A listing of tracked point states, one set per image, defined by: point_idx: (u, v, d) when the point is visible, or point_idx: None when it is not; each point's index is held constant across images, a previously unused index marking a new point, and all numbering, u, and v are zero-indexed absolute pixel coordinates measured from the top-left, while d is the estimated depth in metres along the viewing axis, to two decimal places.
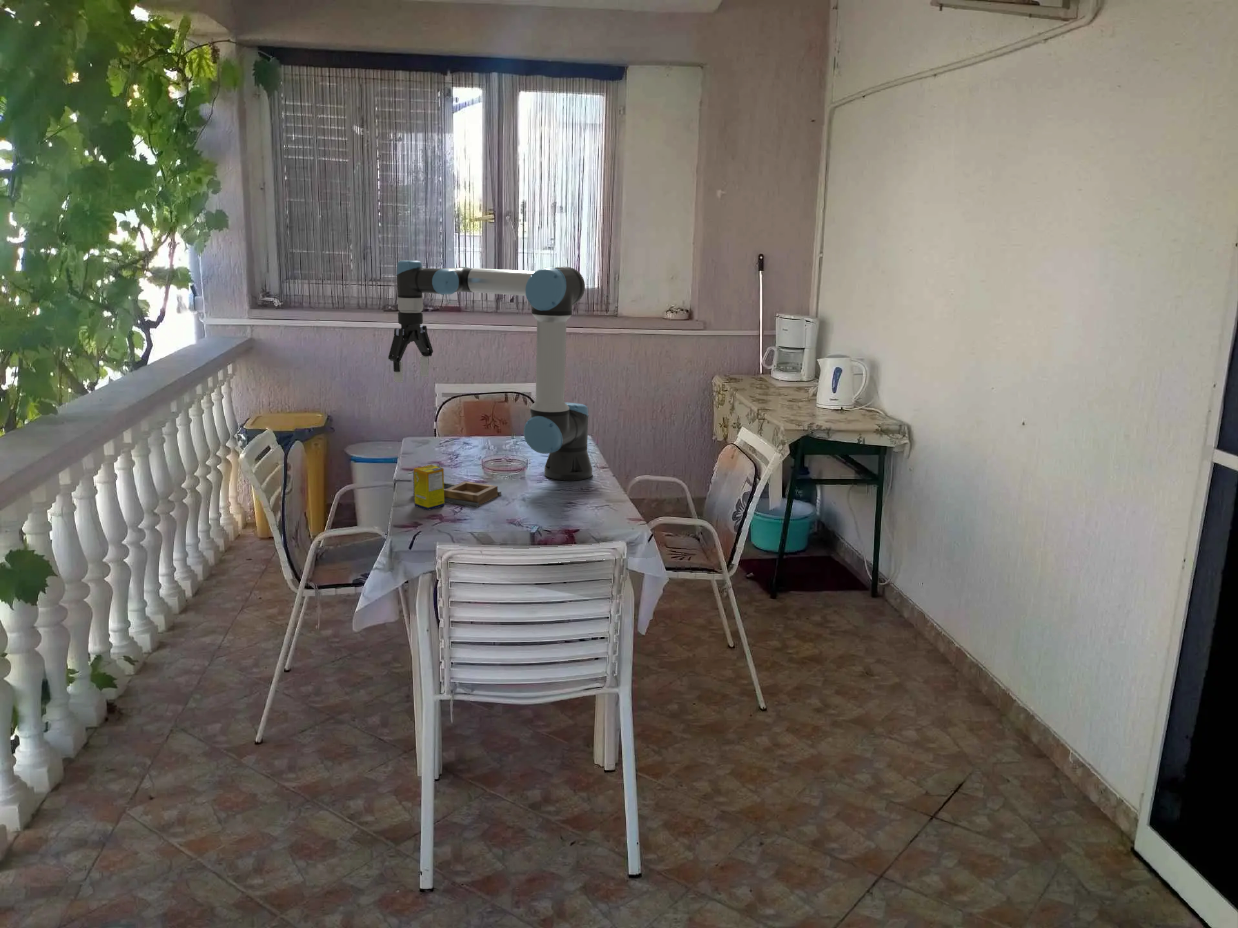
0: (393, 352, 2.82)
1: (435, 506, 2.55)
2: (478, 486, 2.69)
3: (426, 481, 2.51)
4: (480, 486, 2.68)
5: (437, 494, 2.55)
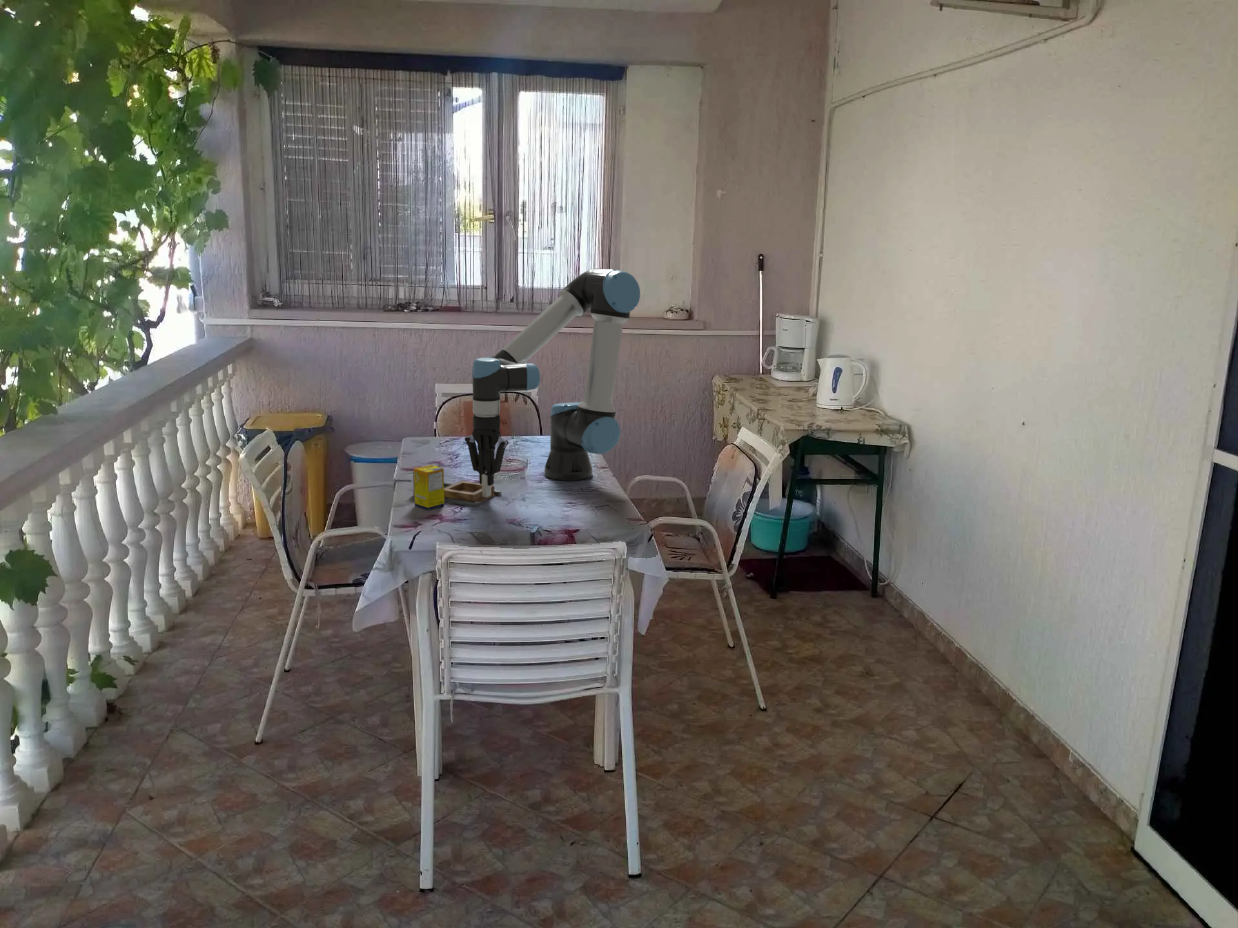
0: None
1: (435, 506, 2.55)
2: (475, 485, 2.69)
3: (426, 481, 2.51)
4: (477, 485, 2.69)
5: (437, 494, 2.55)
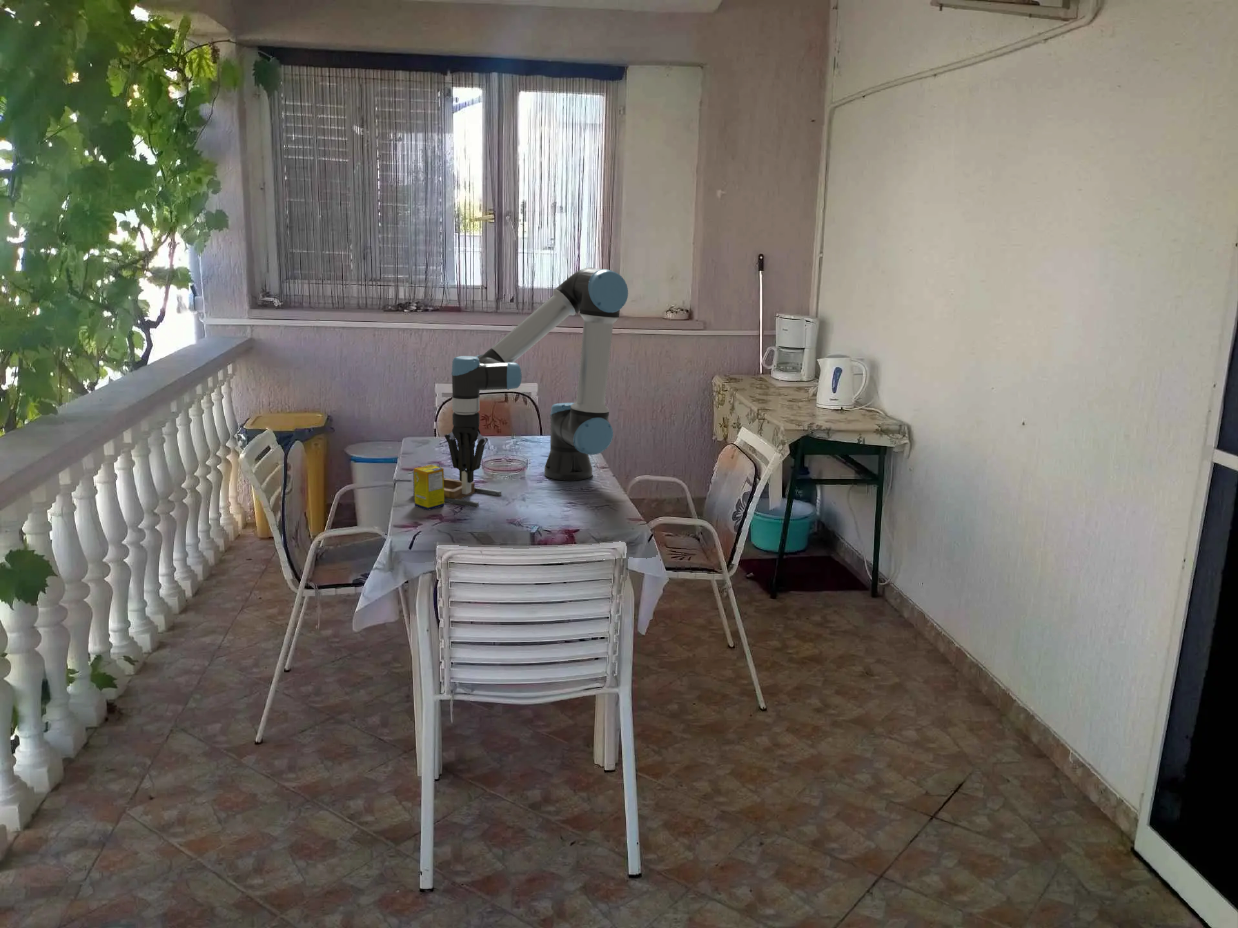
0: None
1: (435, 506, 2.55)
2: (455, 482, 2.71)
3: (426, 481, 2.51)
4: (457, 482, 2.71)
5: (437, 494, 2.55)
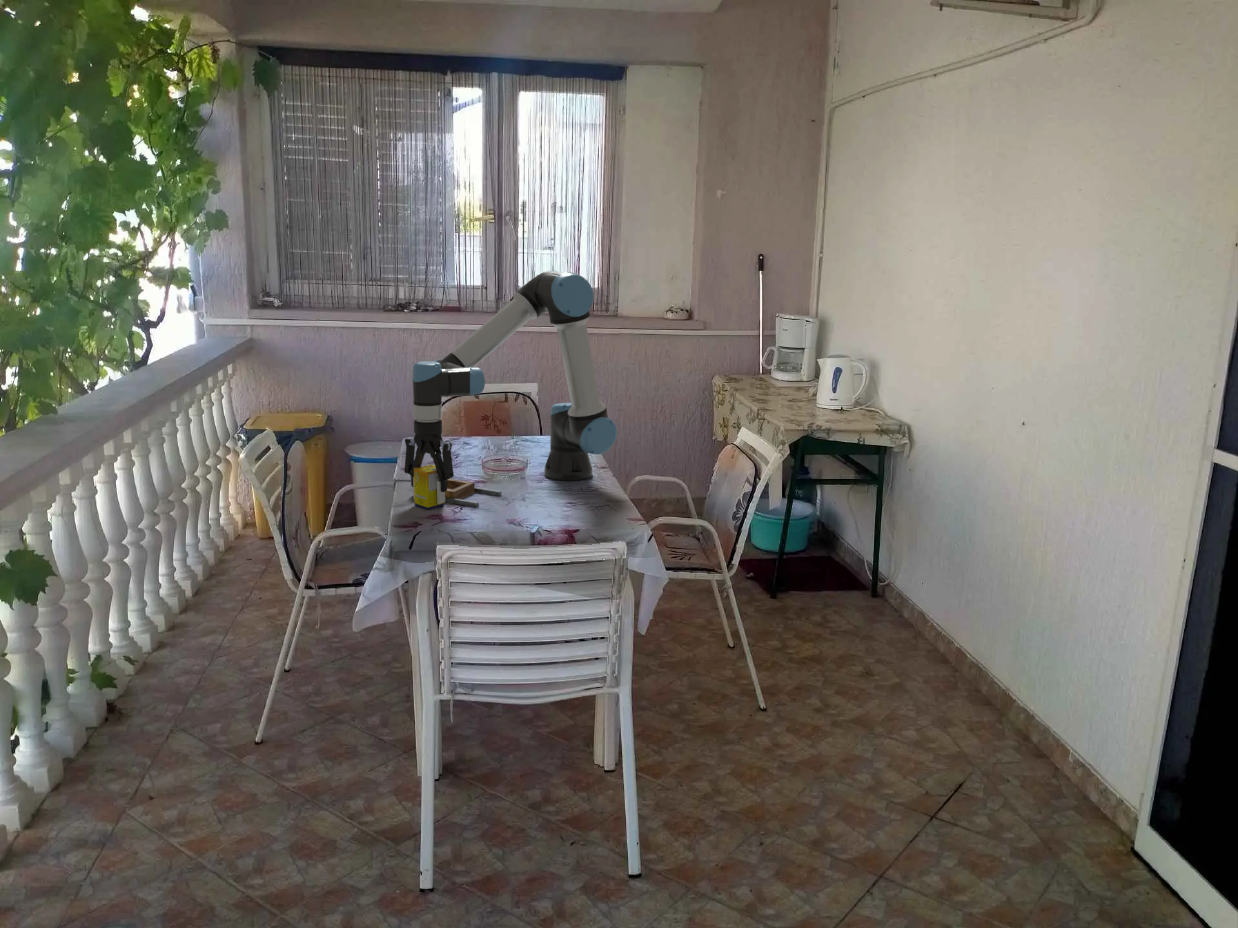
0: None
1: (435, 506, 2.55)
2: (455, 482, 2.71)
3: (426, 481, 2.51)
4: (457, 482, 2.71)
5: None
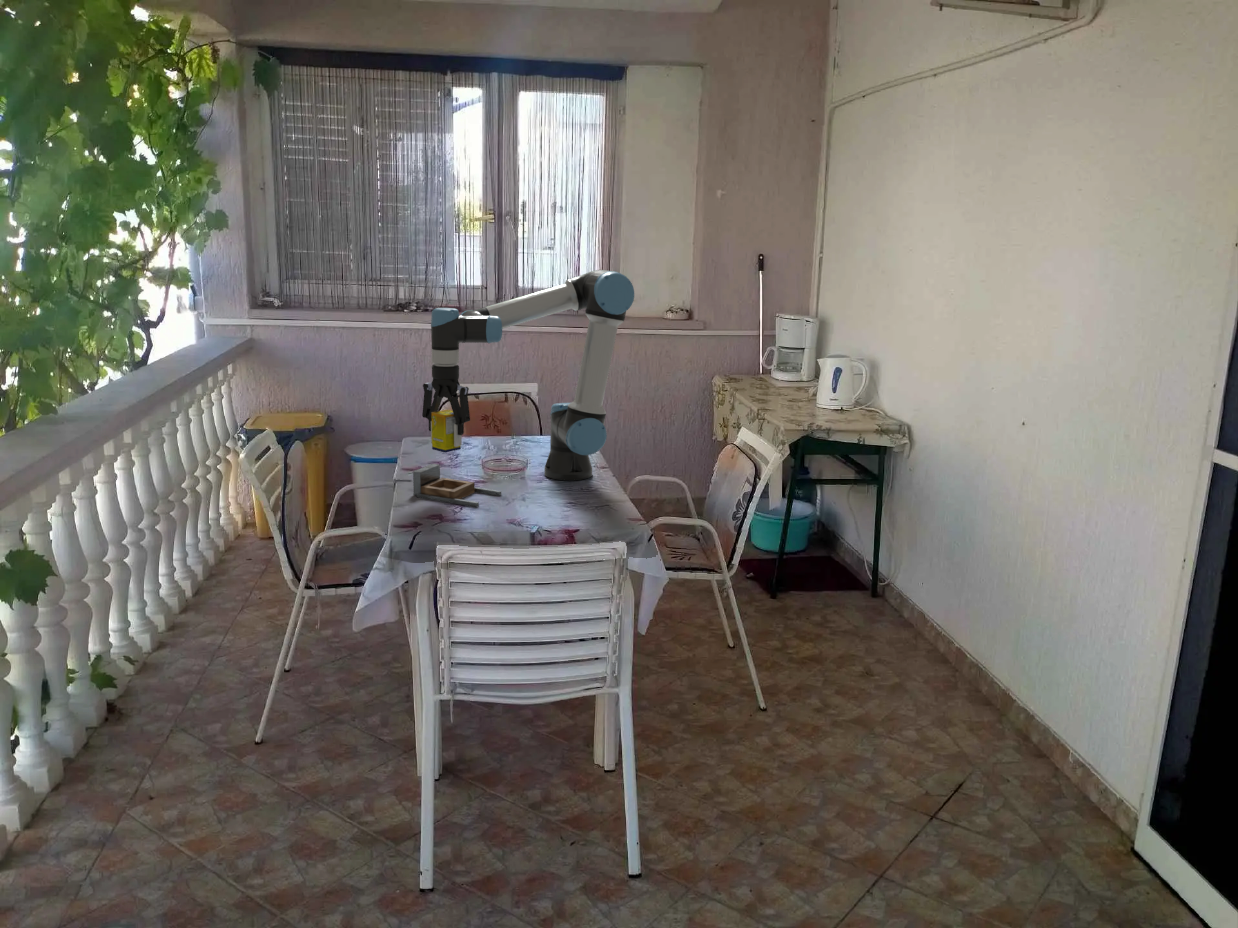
0: None
1: (452, 449, 2.63)
2: (455, 482, 2.71)
3: (443, 424, 2.59)
4: (457, 482, 2.71)
5: None
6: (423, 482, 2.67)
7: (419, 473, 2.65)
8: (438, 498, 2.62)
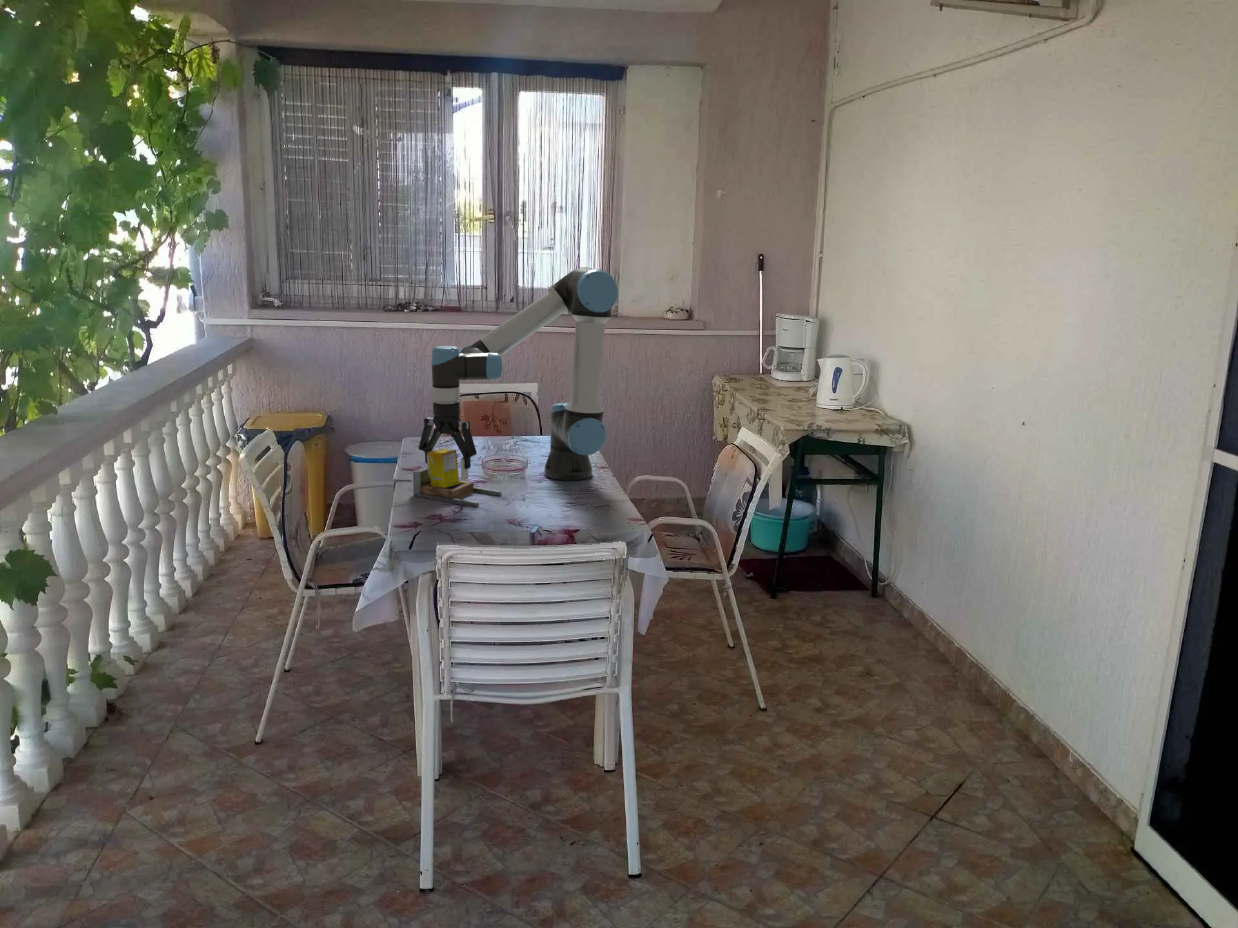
0: None
1: (451, 486, 2.66)
2: None
3: (441, 462, 2.63)
4: None
5: (452, 474, 2.66)
6: (423, 482, 2.67)
7: (419, 473, 2.65)
8: (438, 498, 2.62)
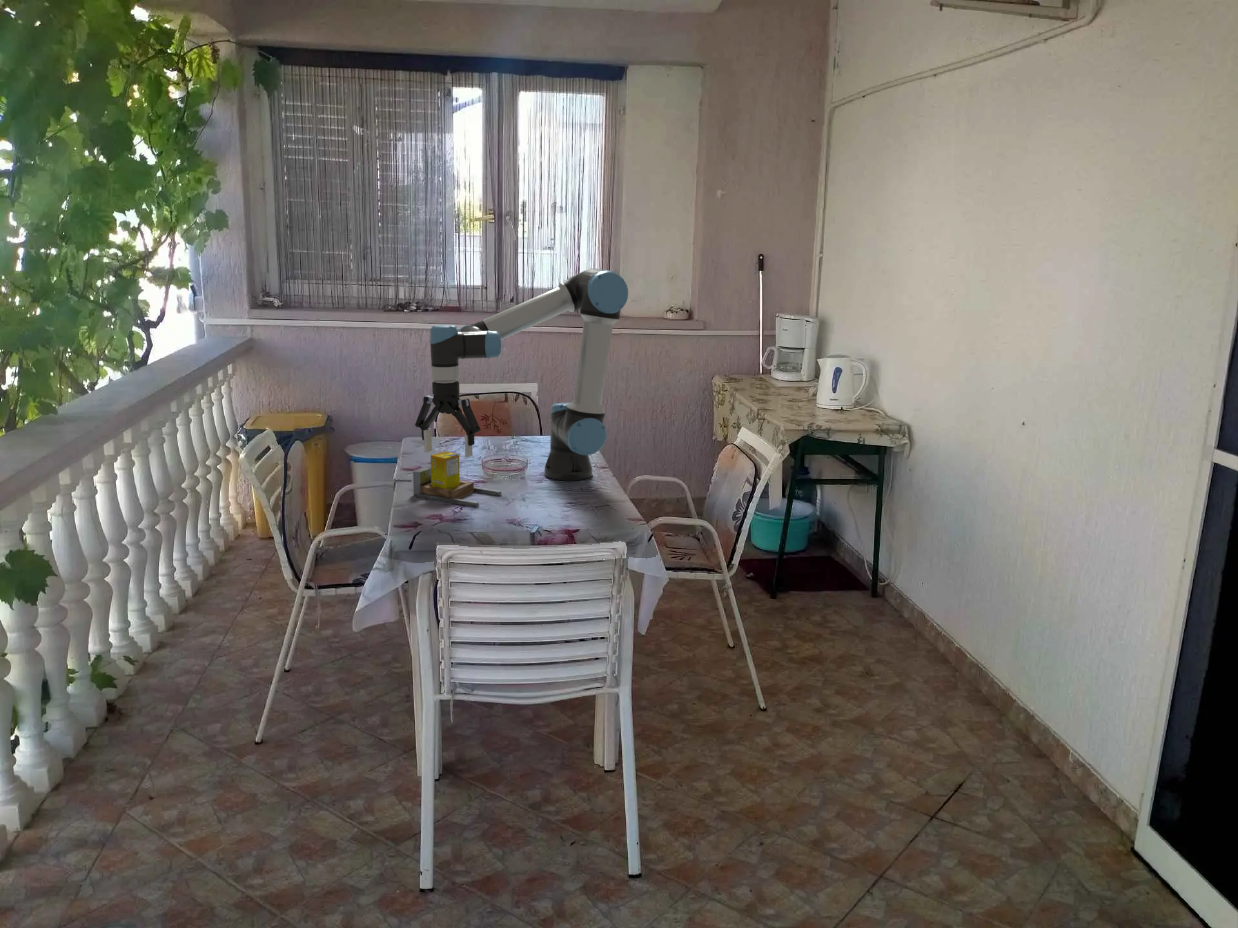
0: None
1: None
2: None
3: (444, 467, 2.62)
4: None
5: (453, 479, 2.66)
6: (423, 482, 2.67)
7: (419, 473, 2.65)
8: (438, 498, 2.62)
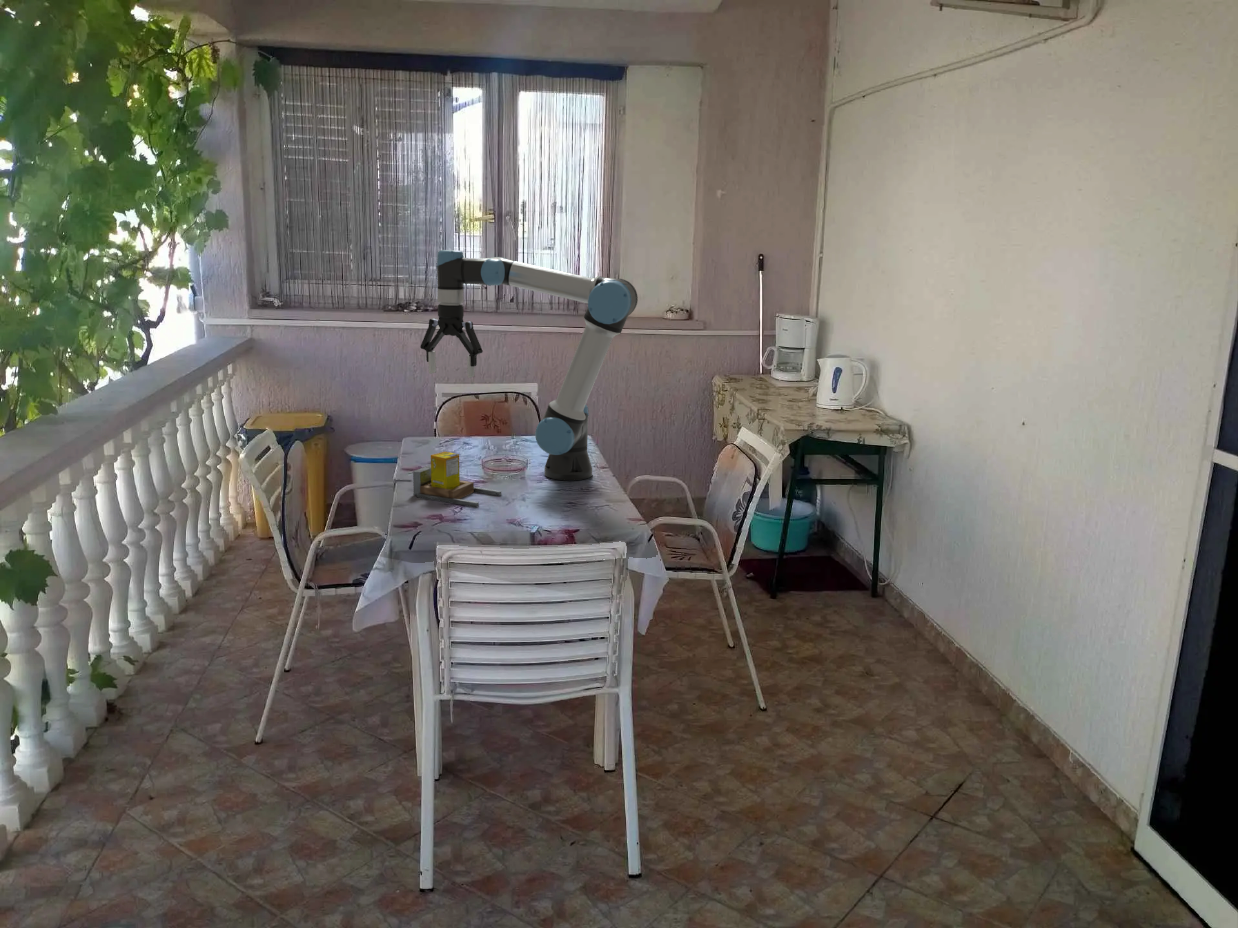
0: None
1: None
2: None
3: (444, 467, 2.62)
4: None
5: (453, 479, 2.66)
6: (423, 482, 2.67)
7: (419, 473, 2.65)
8: (438, 498, 2.62)
